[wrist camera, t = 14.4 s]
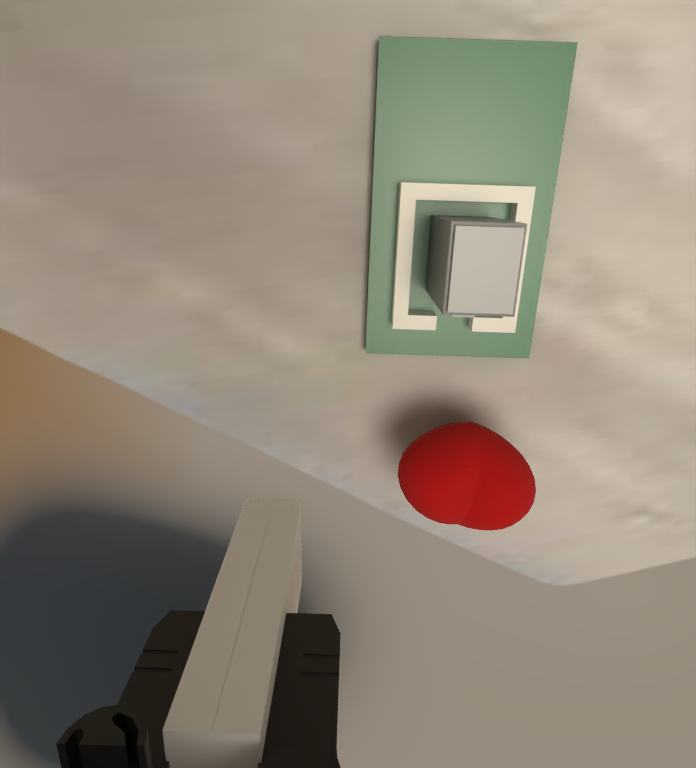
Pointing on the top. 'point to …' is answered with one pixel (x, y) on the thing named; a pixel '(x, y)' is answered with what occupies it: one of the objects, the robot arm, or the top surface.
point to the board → (460, 178)
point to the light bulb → (467, 477)
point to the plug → (474, 265)
